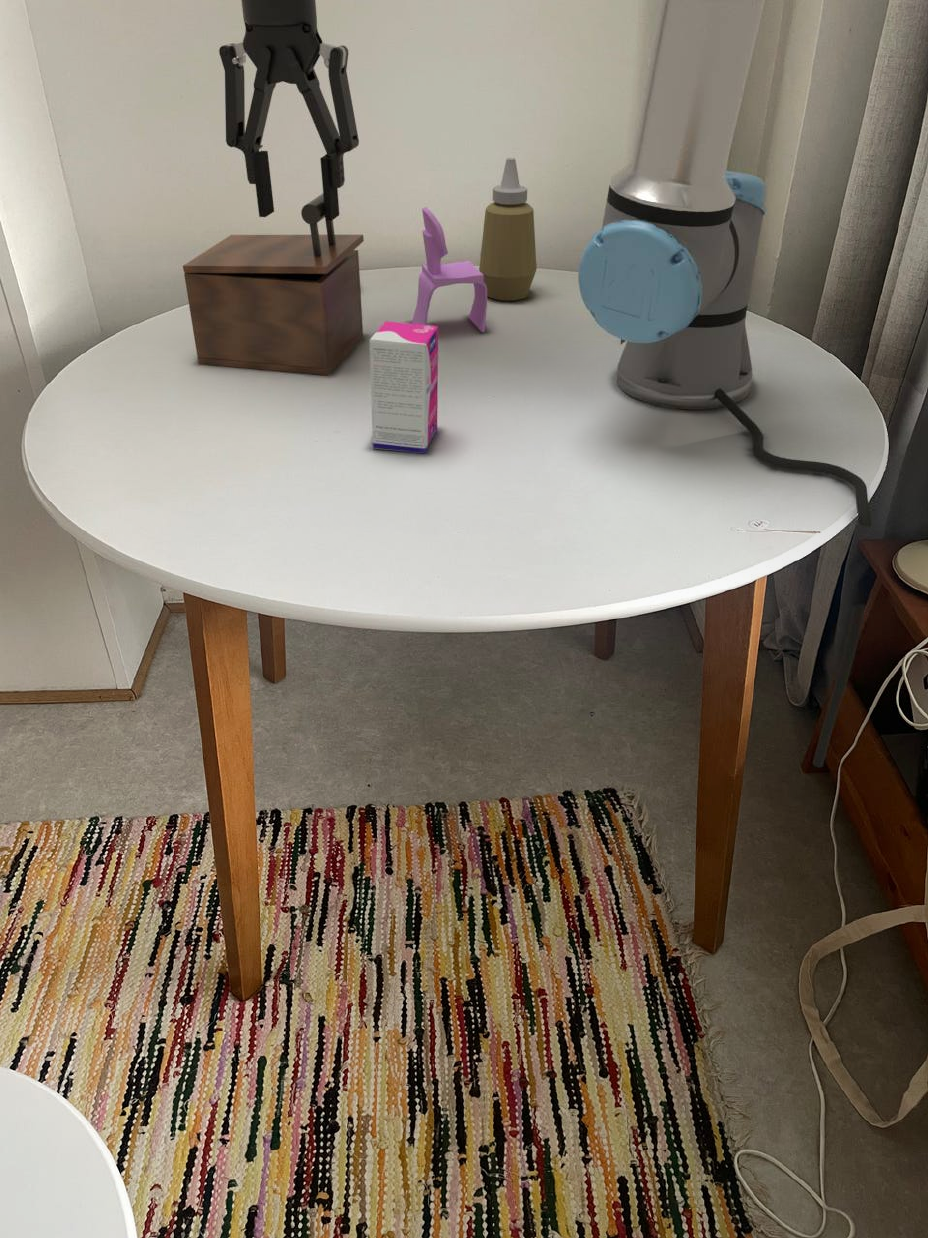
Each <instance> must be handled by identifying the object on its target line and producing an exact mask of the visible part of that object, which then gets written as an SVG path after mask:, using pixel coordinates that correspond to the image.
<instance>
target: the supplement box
mask: <svg viewBox="0 0 928 1238" xmlns="http://www.w3.org/2000/svg"><path fill="white" fill-rule="evenodd" d="M369 362H370V363H369V364H370V365H369V366H370V367H369V368H370V398H371V400H370V401H371V426H372V427H371V432H372V433H371V435H372V438H371V439H372V443H371V445H372V449H376V450H386V451H398V452H405V453H417V454H424V453H426V452H427V451H428V447H429V446H430V443H431V442H432V439H433V438H434V436H435V434H436V433H437V432H438V408H439V407H438V404H439V403H438V399H439V397H438V394H439V393H438V391H439V390H438V389H439V387H438V385H439V326H438V325H432V324H431V325H430V324H427V325H419V324H412V323H407V322H397V321H388V320H385V321H384V322H383V323H382V325H380V327H379V328H378V329H377V330H376V332H375V333H374V334H373V335H372V336H371V338H370V339H369Z"/></svg>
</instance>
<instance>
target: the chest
mask: <svg viewBox="0 0 928 1238" xmlns="http://www.w3.org/2000/svg"><path fill="white" fill-rule="evenodd" d="M359 257H360V256H359V249H354V250H353V251H352V252H351V253H350V254H349V255H348V256H346V257H345V258H344V259H343V260H342V261H341V262H340V263H338V264H337V265H336V266H335V267H334V268H333V269H332V270H330V271H329V272H328V273H327V274H291V273H184V272H183V276H184V281H185V288H186V294H187V295H186V296H187V301H188V308H189V313H190V319H191V326H192V332H193V338H194V345H195V350H196V357H197V364H199V365H208V366H209V365H210V366H220V367H232V368H241V369H252V370H262V371H263V370H265V371H273V372H274V371H275V372H284V373H285V372H286V373H294V374H295V373H296V374H297V373H298V374H306V375H319V376H330V374H331V373H332V372H334V370H335V369H336V368H337V367H338V366H339V364H340V363H341V362H342V361H343V360H344V358H346V356H347V355H348V354H350V352H351V351H352V349H353V348H354V347H355V346H356V345H357V344H358V343H359V342H360V340H361V339H362V338H363V337H364V327H363V310H362V293H361V276H360V274H361V273H360V259H359Z"/></svg>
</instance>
